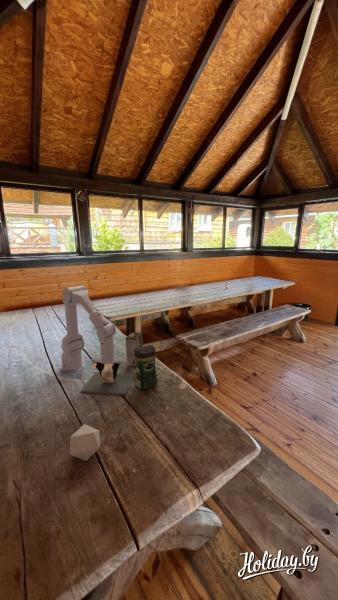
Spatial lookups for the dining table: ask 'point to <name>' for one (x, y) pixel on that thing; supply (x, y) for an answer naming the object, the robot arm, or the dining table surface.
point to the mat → (108, 384)
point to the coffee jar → (145, 367)
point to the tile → (104, 365)
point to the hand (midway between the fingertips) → (109, 377)
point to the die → (84, 442)
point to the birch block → (107, 375)
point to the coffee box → (133, 346)
